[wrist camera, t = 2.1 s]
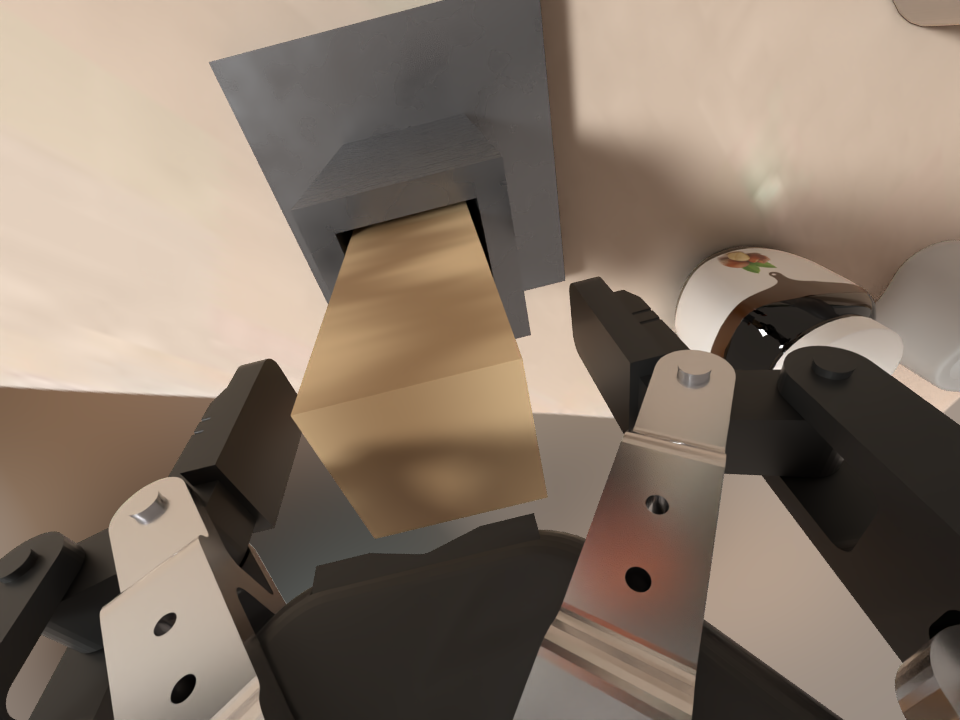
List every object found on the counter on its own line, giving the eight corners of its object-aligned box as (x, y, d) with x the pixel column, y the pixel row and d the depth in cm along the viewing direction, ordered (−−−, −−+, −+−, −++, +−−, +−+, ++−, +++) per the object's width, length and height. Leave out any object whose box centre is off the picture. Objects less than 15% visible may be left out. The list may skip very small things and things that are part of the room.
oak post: (446, 146, 23) (523, 356, 7) (462, 218, 25) (548, 497, 9) (375, 165, 23) (289, 414, 7) (398, 235, 25) (374, 539, 9)
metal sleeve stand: (528, -19, 21) (660, -105, 10) (557, 268, 31) (641, 391, 19) (224, 61, 21) (14, 67, 10) (347, 321, 31) (309, 472, 20)
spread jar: (800, 236, 32) (962, 312, 22) (749, 356, 38) (857, 452, 29) (649, 250, 31) (753, 335, 21) (624, 371, 37) (694, 475, 28)
